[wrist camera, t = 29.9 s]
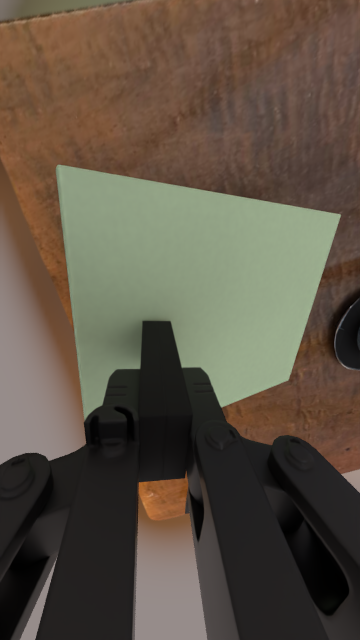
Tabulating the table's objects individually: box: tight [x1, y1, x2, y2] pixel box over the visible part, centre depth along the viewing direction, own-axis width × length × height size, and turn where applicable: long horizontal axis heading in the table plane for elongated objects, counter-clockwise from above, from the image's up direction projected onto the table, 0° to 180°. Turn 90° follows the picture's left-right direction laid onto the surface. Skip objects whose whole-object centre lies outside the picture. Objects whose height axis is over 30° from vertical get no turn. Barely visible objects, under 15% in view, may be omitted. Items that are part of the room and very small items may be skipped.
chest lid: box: [56, 165, 341, 420], centre depth 16 cm, size 19×16×1 cm
